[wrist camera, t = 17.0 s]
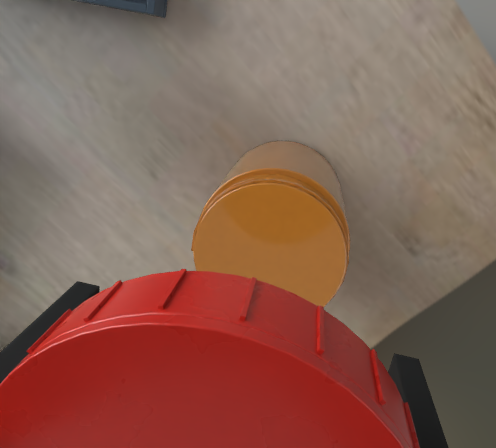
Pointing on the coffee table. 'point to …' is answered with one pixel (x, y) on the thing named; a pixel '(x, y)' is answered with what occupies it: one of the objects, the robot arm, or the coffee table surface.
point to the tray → (134, 5)
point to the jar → (278, 222)
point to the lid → (201, 373)
